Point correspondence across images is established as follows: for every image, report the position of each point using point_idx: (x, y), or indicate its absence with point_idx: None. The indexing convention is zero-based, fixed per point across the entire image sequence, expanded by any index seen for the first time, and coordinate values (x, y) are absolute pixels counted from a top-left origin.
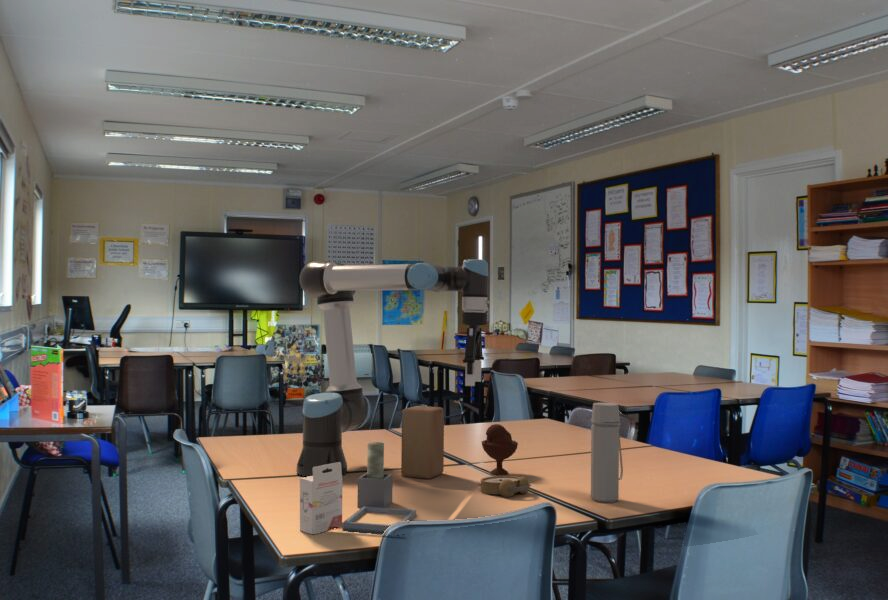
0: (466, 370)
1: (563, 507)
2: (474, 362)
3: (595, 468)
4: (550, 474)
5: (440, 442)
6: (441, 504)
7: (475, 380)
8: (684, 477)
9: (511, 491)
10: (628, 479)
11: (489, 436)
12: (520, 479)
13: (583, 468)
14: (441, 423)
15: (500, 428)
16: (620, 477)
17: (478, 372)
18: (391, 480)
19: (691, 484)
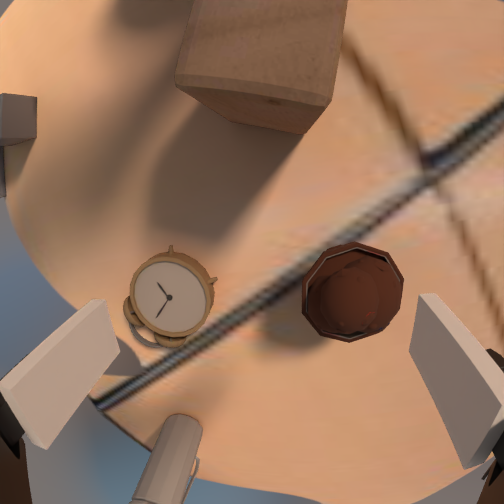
0: (36, 358)
1: (122, 377)
2: (482, 406)
3: (155, 447)
4: (349, 361)
5: (278, 121)
6: (62, 206)
7: (417, 322)
8: (348, 488)
9: (132, 315)
10: (326, 452)
11: (328, 279)
12: (156, 337)
13: (405, 400)
14: (286, 113)
15: (333, 324)
16: (197, 460)
17: (434, 377)
18: (4, 139)
19: (308, 493)
